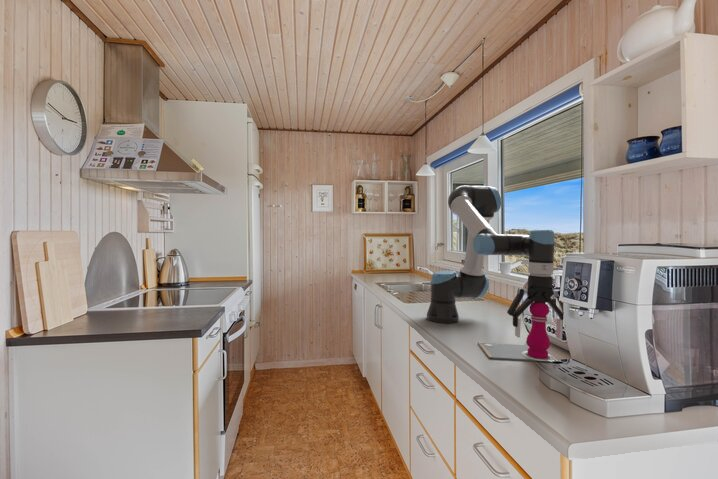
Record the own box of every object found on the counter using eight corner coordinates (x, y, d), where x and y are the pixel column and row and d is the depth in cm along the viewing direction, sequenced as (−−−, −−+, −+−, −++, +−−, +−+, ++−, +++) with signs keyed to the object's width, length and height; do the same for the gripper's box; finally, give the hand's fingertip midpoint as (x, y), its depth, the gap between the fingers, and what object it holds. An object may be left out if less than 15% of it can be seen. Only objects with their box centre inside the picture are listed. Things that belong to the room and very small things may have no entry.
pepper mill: (544, 352, 125) (546, 295, 125) (553, 359, 118) (555, 299, 118) (522, 351, 126) (524, 294, 125) (530, 358, 119) (532, 298, 118)
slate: (477, 344, 135) (477, 342, 135) (538, 347, 133) (538, 345, 133) (490, 360, 118) (490, 357, 118) (559, 363, 116) (559, 361, 116)
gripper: (506, 275, 119) (503, 338, 119) (585, 277, 116) (582, 342, 117) (499, 272, 126) (497, 332, 127) (573, 275, 124) (571, 335, 124)
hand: (538, 337), depth 122 cm, fingers open, 13 cm apart
